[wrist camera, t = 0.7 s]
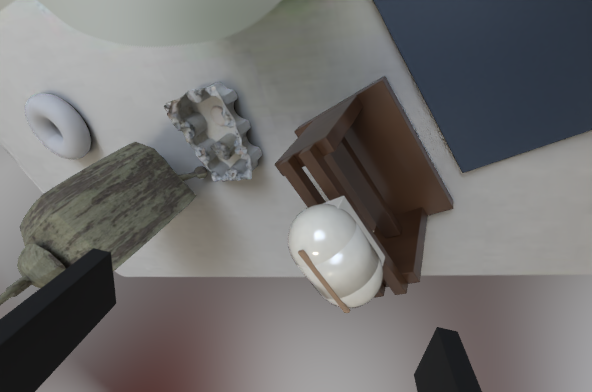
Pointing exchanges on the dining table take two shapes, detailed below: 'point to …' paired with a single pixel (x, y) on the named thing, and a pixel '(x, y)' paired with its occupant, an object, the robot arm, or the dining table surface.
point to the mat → (498, 70)
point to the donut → (58, 126)
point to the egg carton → (215, 131)
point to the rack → (372, 175)
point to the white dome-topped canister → (337, 253)
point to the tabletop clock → (100, 213)
